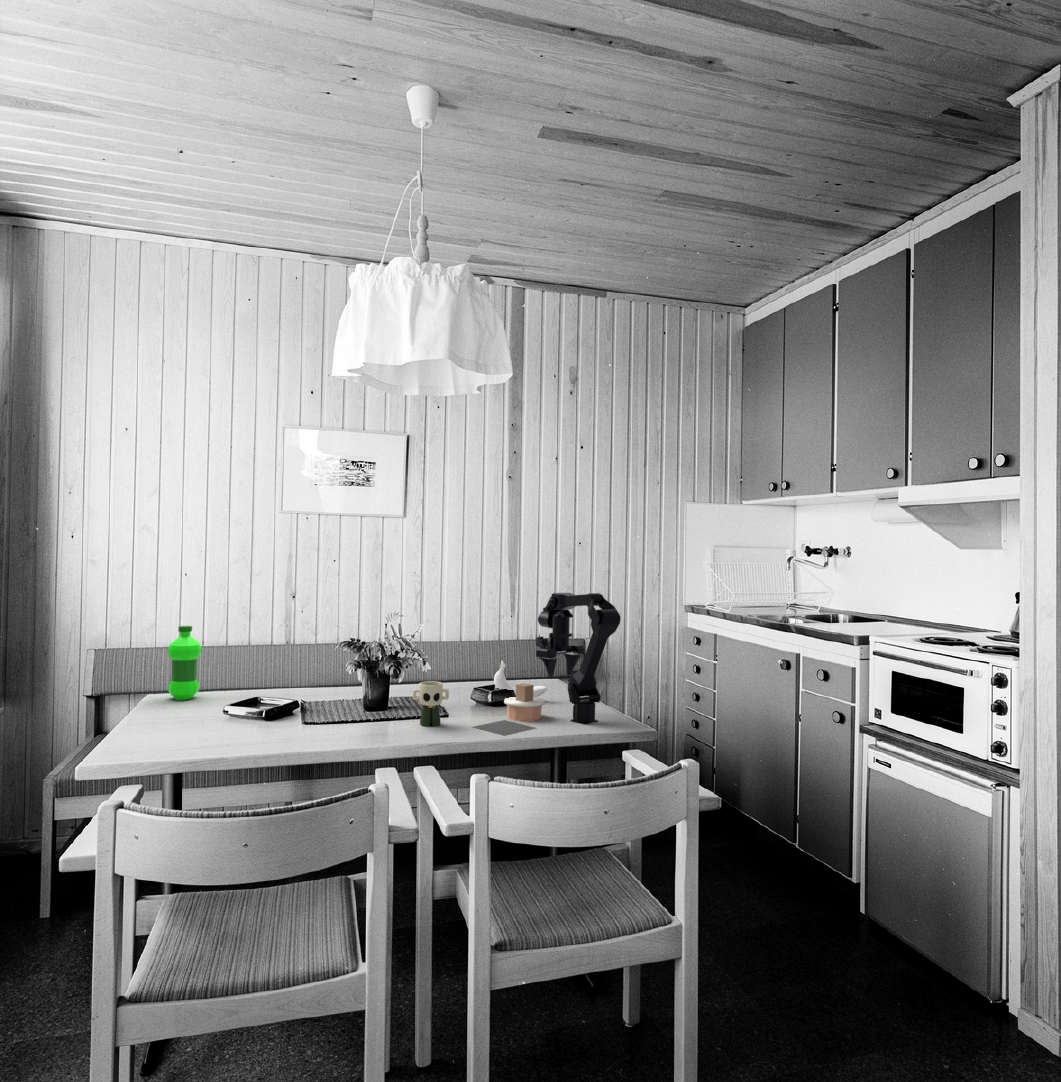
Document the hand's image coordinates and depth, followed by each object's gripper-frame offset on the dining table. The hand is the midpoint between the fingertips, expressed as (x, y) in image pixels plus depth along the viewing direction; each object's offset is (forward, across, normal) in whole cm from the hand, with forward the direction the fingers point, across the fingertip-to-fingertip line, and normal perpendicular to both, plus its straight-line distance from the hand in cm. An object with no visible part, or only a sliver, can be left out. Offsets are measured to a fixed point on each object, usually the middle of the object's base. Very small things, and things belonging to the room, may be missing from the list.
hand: (559, 676), depth 259 cm
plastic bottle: (+12, +82, -101) cm, 131 cm away
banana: (+12, -4, -22) cm, 26 cm away
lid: (+7, +15, -2) cm, 17 cm away
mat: (+12, +30, +4) cm, 32 cm away
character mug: (+12, +44, -14) cm, 48 cm away
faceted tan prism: (+12, +15, -2) cm, 19 cm away
